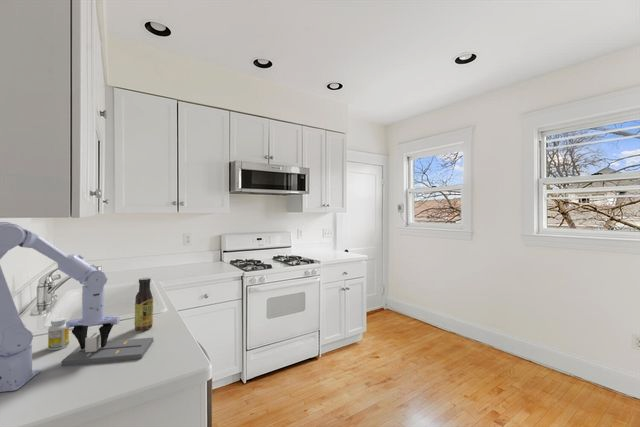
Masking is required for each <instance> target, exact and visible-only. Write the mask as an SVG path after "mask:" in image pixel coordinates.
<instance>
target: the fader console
mask: <svg viewBox="0 0 640 427" xmlns="http://www.w3.org/2000/svg"><path fill="white" fill-rule="evenodd" d="M153 343H154V336H152V337H143V338H141V337H140V338H129V339H117V340H107V343H106V346H105V347H103V348H101V347H100V348H99V349H98V350H97V351H95V352H85V348H84V349H81V347H80V345H79V346H77V347H76V348H75V349H74V350H72V351H71V352H70V353H69V354H68V355H67V356H66V357H64V358H63V359H62V360H60V361H61V362H60V366H61V367H65V366H76V365H87V364H88V365H89V364H96V363H97V364H99V363H108V362H109V363H110V362H117V361H129V360H137V359H138V360H140V359H143V358H144V356H145V354H146V353H147V352H148V350H149V349H150V347H151V346H152V344H153Z"/></svg>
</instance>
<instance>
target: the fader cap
mask: <svg viewBox="0 0 640 427" xmlns="http://www.w3.org/2000/svg"><path fill="white" fill-rule="evenodd" d="M100 347H101V336H100V332H92V333H89V335H87V337H86V338H85V352H95V351H97V350H98V349H99V348H100Z"/></svg>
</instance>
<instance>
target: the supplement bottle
mask: <svg viewBox="0 0 640 427" xmlns="http://www.w3.org/2000/svg"><path fill="white" fill-rule="evenodd" d="M66 322H67V317H66V316H65V317H63V316H61V317H56V318H52V319H51V320H50V326H49V327H48V330H47V331H48V332H47V333H48V334H47V338H48V339H47V341H48V342H47V343H48V344H47V347H48V350H49V351H59V350H62V349H64V348H67V347H68V346H69V344H70V328H66Z"/></svg>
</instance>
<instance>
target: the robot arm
mask: <svg viewBox="0 0 640 427" xmlns="http://www.w3.org/2000/svg"><path fill="white" fill-rule="evenodd" d="M17 246H19V247H20V248H25V249H26V248H27V249H33V250H35V251H37V252H38V253H40V254H42V255H43V256H45V257H47V258H49V259H50V260H52V261H54V262H55V263H57V269H58V270H59V271H60V272H62V273H63V274H65V275H67V276H69V277H70V278H71V279H74V280H75V281H77V282H79V283H80V285H82V289H81V290H82V293H81V301H82V302H81V307H82V308H81V310H82V313H81V315H82V317H81V318H76V319H69V320H66V328H69V329H70V328H73V329H71V334H72V335H73V336H74V337H75V338H76V339H77V340H76V341H77V342H78V344H79V346H80V347H81V349H84V348H85V338H86V337H88V331H89V329H88V328H89V327H90V326H91V327H92V326H100V327H99V328H98V331H99V333H100V336H101V348H103V347H105V346H106V343H107V341H108V339H109V335H110V333H111V331H112V329H113V327H114V326H115V325H119V324H120V323H121V317H120V316H107V315H105V285H106V283H107V281H108V277H107V275H106V274H105V272H103V271H101V270H99V269H97V266H96V265H94V264H91V263H89V262H87V261H86V260H84V256H82V255H81V254H78V255H77V254H74V253H73V254H66V253H65V252H64V251H62V250H61V249H59V248H57V247H56V246H55V245H53V244H52V243H51V242H49V241H47V240H46V239H45V238H43V237H42V236H40V235H38V234H37V233H34V232H32V231H31V230H28V229H25V228H24V227H22V226H20V225H19V224H17V223H13V222H12V223H11V222H9V221H0V260H1V259H2V258H3V257H4V256H5V255H6V254H7V253H8V252H9V251H11V250H12V249H14V248H16V247H17ZM33 339H34V335H33V333H32V331H30V329H28V327H27V326H26V325H25V324H24V322H23V321H22V318H21V316H20V314H19V311H18V309H17V306H16V304H15V302H14V298H13V296H12V294H11V290H10V288H9V285H8V282H7V280H6V277H5V275H4V272H3V269H2V267H1V265H0V393H3V392H12V391H13V392H14V391H17V390H19V389H20V388H22V386H23V385H25V384H26V383H28V381H30V380H31V379H33V378H34V377H36V375H37V374H39V373H40V372H41V369H33V343H32V342H33Z"/></svg>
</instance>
